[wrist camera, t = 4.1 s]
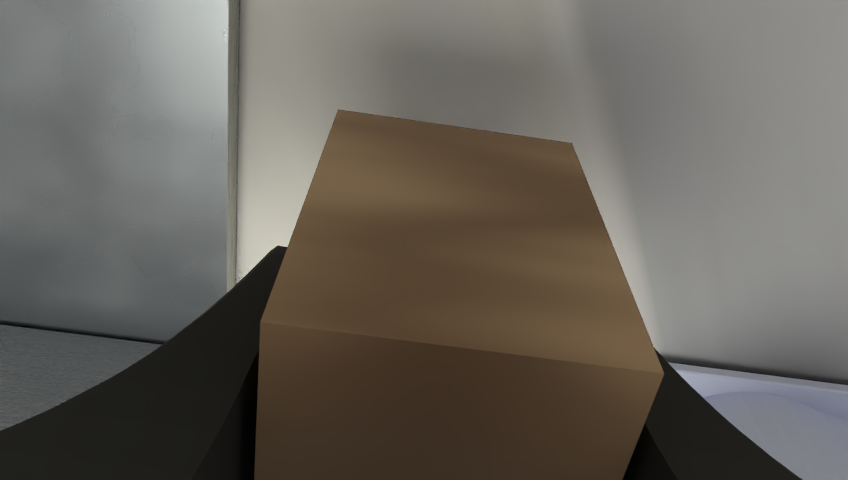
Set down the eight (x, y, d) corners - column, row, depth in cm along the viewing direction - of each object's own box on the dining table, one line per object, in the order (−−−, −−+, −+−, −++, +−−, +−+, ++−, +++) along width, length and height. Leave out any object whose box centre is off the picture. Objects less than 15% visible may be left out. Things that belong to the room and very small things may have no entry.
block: (571, 143, 12) (664, 373, 7) (512, 369, 15) (550, 663, 10) (338, 109, 12) (259, 322, 7) (317, 344, 15) (247, 630, 10)
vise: (245, -482, 13) (145, -628, 9) (233, 425, 24) (187, 561, 20) (-288, -580, 12) (-677, -787, 8) (-49, 392, 23) (-159, 523, 19)
